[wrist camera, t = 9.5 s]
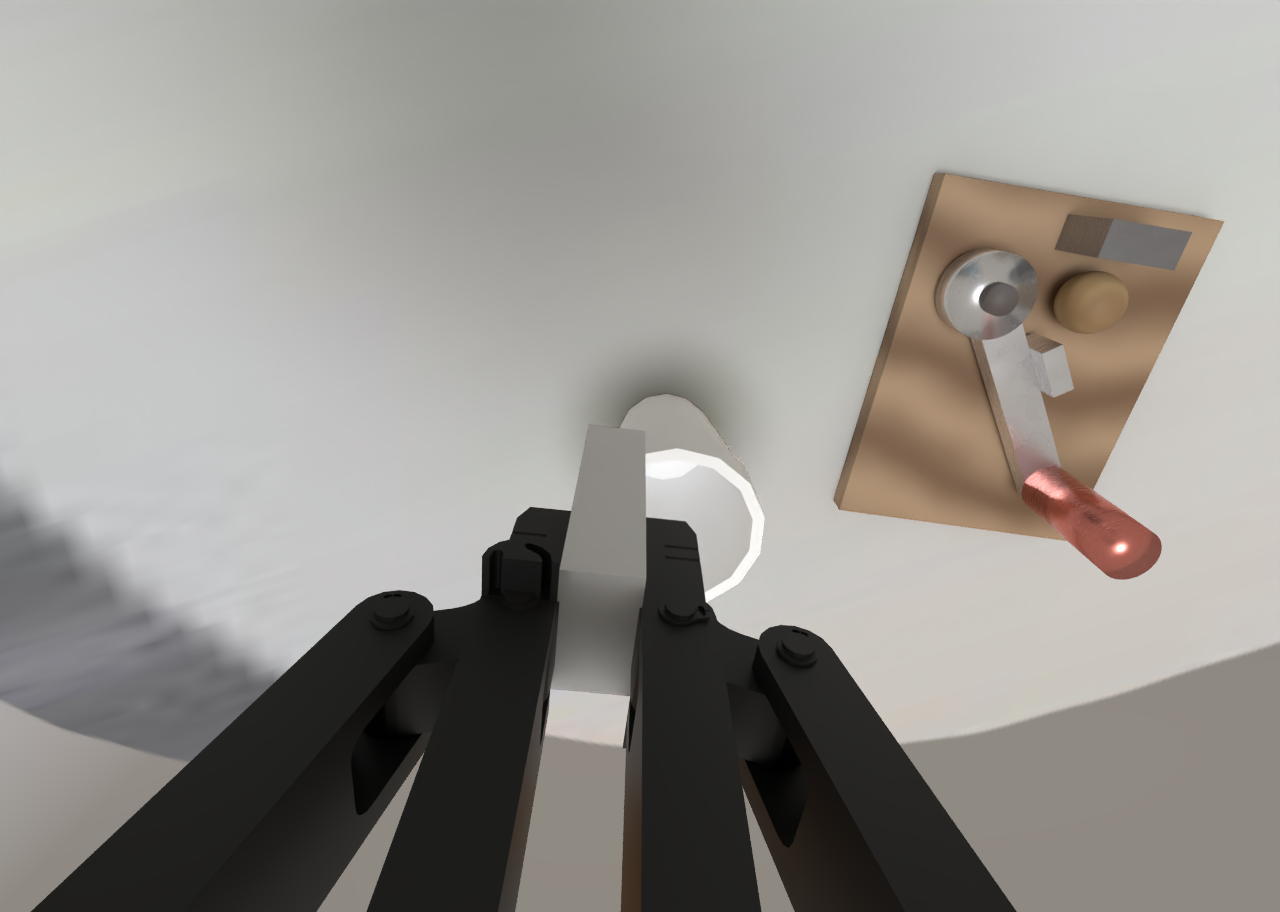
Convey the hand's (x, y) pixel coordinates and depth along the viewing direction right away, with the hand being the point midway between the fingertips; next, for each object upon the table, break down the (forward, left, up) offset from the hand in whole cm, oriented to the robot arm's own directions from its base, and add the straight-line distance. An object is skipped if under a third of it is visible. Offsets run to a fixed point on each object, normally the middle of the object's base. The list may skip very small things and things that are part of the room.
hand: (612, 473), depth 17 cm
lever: (+1, +25, -24) cm, 34 cm away
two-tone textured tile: (-8, +27, -24) cm, 37 cm away
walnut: (-4, +27, -23) cm, 35 cm away
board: (+1, +25, -26) cm, 36 cm away
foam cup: (+9, +4, -26) cm, 28 cm away
